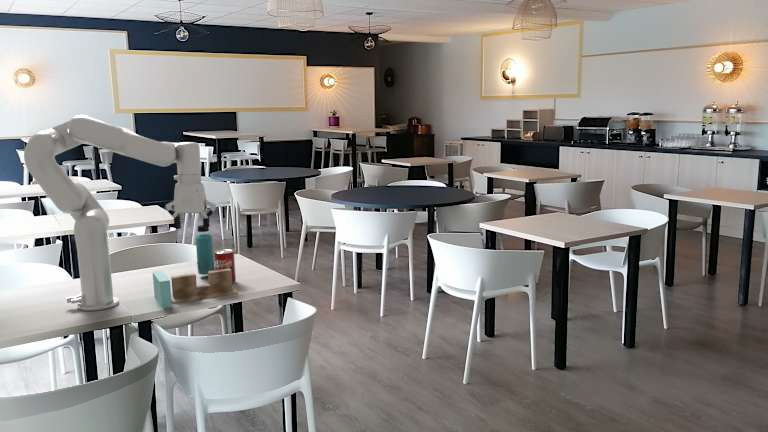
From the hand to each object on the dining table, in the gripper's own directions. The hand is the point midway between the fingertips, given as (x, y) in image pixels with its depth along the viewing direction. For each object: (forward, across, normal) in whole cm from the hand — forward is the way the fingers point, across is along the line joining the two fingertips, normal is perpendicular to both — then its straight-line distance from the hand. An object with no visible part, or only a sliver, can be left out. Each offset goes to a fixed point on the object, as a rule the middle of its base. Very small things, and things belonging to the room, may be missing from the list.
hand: (192, 229), depth 226 cm
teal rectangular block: (+24, -9, -7) cm, 26 cm away
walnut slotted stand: (+24, +3, 0) cm, 24 cm away
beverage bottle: (+24, -5, +25) cm, 35 cm away
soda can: (+24, +6, +16) cm, 29 cm away
